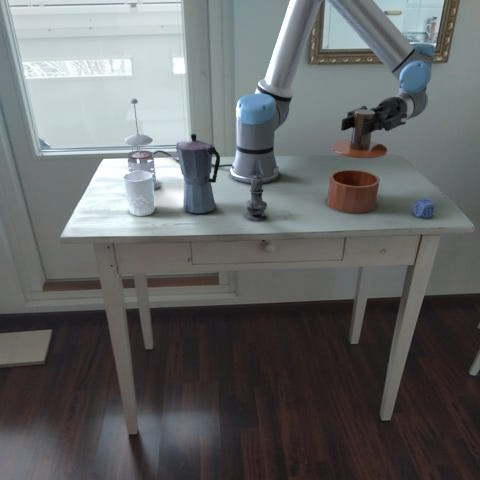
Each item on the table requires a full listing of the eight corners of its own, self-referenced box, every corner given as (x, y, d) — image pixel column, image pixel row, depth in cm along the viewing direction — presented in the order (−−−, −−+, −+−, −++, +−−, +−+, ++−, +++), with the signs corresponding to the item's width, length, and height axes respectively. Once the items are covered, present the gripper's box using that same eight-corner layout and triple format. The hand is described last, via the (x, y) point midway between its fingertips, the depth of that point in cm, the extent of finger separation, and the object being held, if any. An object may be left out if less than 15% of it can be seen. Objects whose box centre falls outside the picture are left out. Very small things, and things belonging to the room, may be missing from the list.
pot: (317, 204, 138) (320, 178, 134) (342, 190, 146) (345, 166, 142) (360, 217, 131) (364, 191, 127) (383, 202, 139) (388, 177, 135)
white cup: (131, 205, 137) (126, 170, 131) (158, 205, 137) (155, 170, 131) (125, 216, 130) (119, 180, 125) (154, 217, 130) (150, 181, 124)
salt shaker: (264, 222, 128) (266, 178, 121) (243, 220, 129) (243, 176, 122) (268, 213, 133) (270, 170, 126) (247, 211, 134) (248, 168, 127)
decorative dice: (412, 213, 134) (415, 199, 131) (424, 211, 135) (428, 197, 132) (420, 219, 131) (423, 205, 128) (432, 217, 131) (436, 203, 129)
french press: (132, 193, 143) (120, 104, 128) (123, 180, 152) (110, 95, 137) (163, 188, 147) (155, 100, 132) (153, 176, 155) (144, 92, 140)
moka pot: (191, 196, 142) (187, 126, 130) (233, 209, 135) (232, 136, 123) (169, 207, 136) (162, 134, 124) (211, 221, 129) (209, 145, 117)
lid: (321, 152, 129) (325, 112, 123) (348, 140, 138) (354, 102, 132) (369, 164, 122) (377, 122, 116) (395, 151, 131) (404, 111, 125)
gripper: (422, 130, 134) (383, 150, 120) (363, 118, 143) (321, 135, 129) (428, 101, 130) (388, 118, 115) (367, 91, 139) (324, 105, 125)
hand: (353, 127), depth 122 cm, fingers closed on lid, 5 cm apart
